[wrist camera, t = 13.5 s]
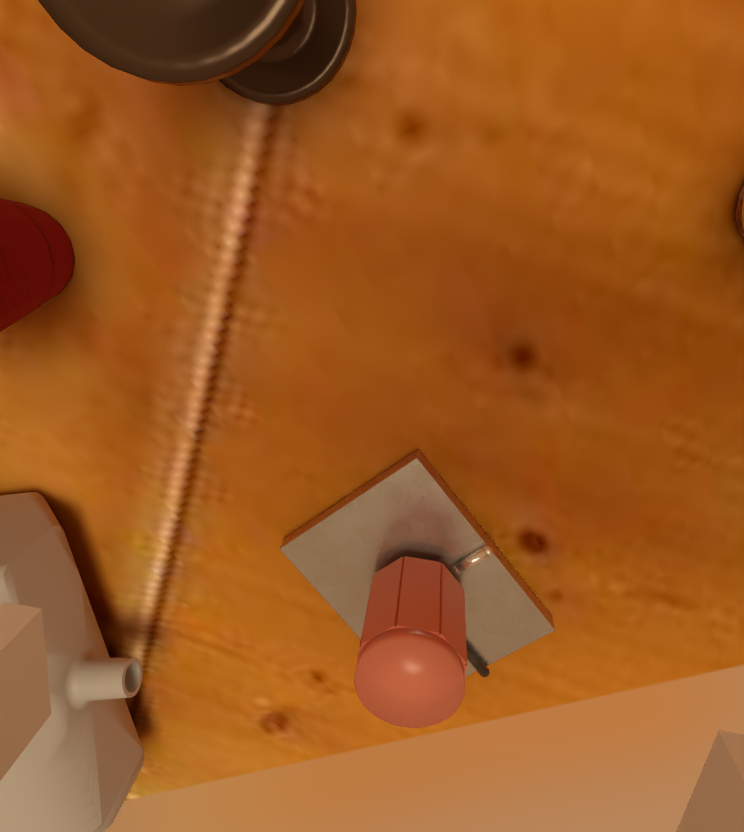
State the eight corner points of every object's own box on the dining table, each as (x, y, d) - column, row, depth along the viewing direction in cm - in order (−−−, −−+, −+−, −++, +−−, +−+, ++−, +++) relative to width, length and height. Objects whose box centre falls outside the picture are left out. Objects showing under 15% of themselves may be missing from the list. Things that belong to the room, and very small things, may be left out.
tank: (208, 740, 53) (140, 896, 41) (40, 744, 55) (-69, 893, 44) (125, 475, 45) (10, 576, 33) (-67, 495, 47) (-236, 595, 36)
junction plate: (558, 619, 44) (585, 726, 35) (421, 690, 48) (414, 803, 39) (421, 446, 41) (413, 517, 32) (284, 537, 45) (244, 623, 36)
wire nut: (480, 608, 42) (487, 699, 34) (407, 648, 44) (398, 742, 36) (425, 542, 41) (420, 621, 33) (352, 586, 42) (332, 671, 35)
